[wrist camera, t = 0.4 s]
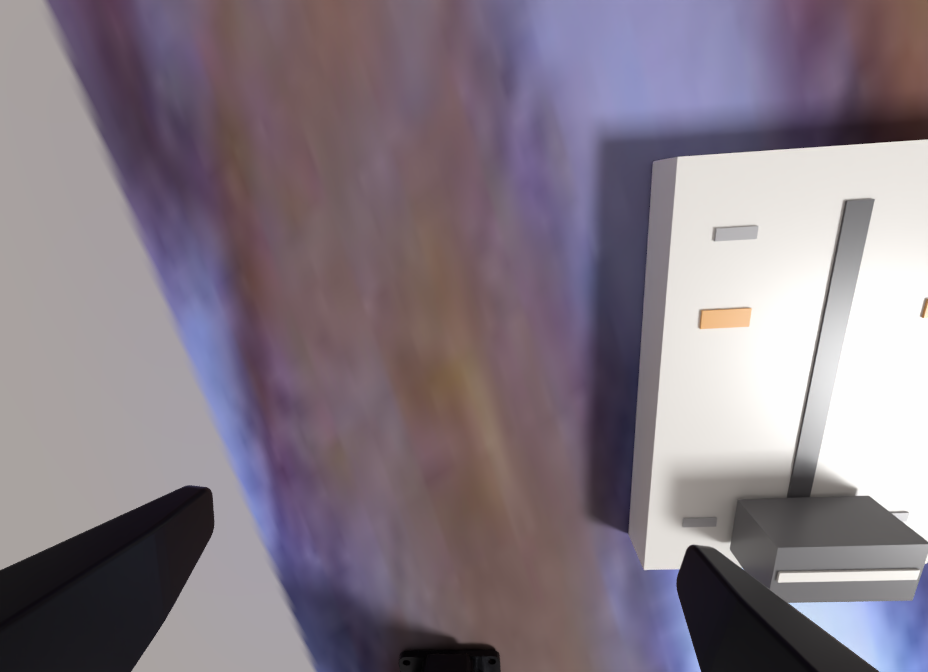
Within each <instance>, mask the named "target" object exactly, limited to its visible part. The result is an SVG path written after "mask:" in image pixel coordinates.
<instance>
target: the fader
mask: <svg viewBox="0 0 928 672" xmlns="http://www.w3.org/2000/svg"><path fill="white" fill-rule="evenodd" d="M730 551H731V552H732V554H733V555H734V556H735V558H736V559H737V561H738V562H739V564H740V565H741V566H742V568H743V569H744V570H745V571H746V572H747V573H749V574H750V575H751V576H753V577H754V578H755V579H757V580H758V581H759V582H761V583H762V584H763V585H765V586H766V587H767V588H769V589H770V590H771V591H773V592H774V593H775V594H777V595H778V596H779V597H781V598H782V599H783V600H785V601H786V602H787V603H797V602H855V601H912V600H913V597H914V594H915V591H916V588H917V585H918V582H919V579H920V576H921V573H922V570H923V567H924V564H925V561H926V558H927V555H928V541H926V540H925V539H924V538H923V537H921V536H920V535H919V534H917V533H916V532H915V531H914V530H912V529H911V528H910V527H908V526H907V525H906V524H905V523H903V522H902V521H901V520H900V519H898V518H897V517H896V516H894V515H893V514H892V513H891V512H889V511H888V510H887V509H885V508H884V507H883V506H882V505H880V504H879V503H878V502H876V501H875V500H874V499H873V498H871V497H870V496H835V497H801V498H766V499H737V506H736V512H735V518H734V525H733V531H732V537H731V544H730Z"/></svg>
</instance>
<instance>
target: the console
mask: <svg viewBox="0 0 928 672" xmlns="http://www.w3.org/2000/svg"><path fill="white" fill-rule="evenodd" d="M835 496H870V497H871V498H873V499H874V500H875V501H876V502H878V503H879V504H880V505H882V506H883V507H884V508H885V509H887V510H888V511H889V512H891V513H892V514H893V515H894V516H896V517H897V518H898V519H900V520H901V521H902V522H903V523H905V524H906V525H907V526H908V527H910V528H911V529H912V530H914V531H915V532H916V533H917V534H919V535H920V536H921V537H923V538H924V539H925V540H926V541H928V140H913V141H899V142H884V143H870V144H855V145H841V146H827V147H812V148H798V149H783V150H769V151H754V152H740V153H725V154H711V155H697V156H682V157H674V158H668V159H662V160H657V161H653V168H652V183H651V198H650V214H649V229H648V244H647V259H646V274H645V290H644V305H643V320H642V335H641V350H640V366H639V381H638V396H637V411H636V426H635V442H634V457H633V472H632V487H631V503H630V518H629V533H628V534H629V537H630V539H631V541H632V544H633V546H634V548H635V550H636V553H637V555H638V557H639V560H640V562H641V564H642V567H643V569H644V570H657V569H680V567H681V564H682V561H683V558H684V555H685V552H686V549H687V548H688V547H689V546H690V545H703V546H710V547H713V548H715V549H717V550H718V551H719V552H721V553H722V554H723V555H725V556H726V557H727V558H729V559H730V560H731V561H733V562H734V563H735V564H737V565H738V566H739V567H741V568H742V566H741V565H740V564H739V562H738V561H737V559H736V558H735V556H734V555H733V554H732V552H731V551H730V544H731V537H732V531H733V525H734V518H735V512H736V506H737V499H766V498H801V497H835ZM927 562H928V555H927V558H926V561H925V564H927Z"/></svg>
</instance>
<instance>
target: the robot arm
mask: <svg viewBox="0 0 928 672" xmlns="http://www.w3.org/2000/svg"><path fill="white" fill-rule="evenodd" d="M213 529H214V511H213V497H212V492H211V490H210V489H209V488H207V487H200V486H192V485H191V486H190V485H189V486H184V487H182V488H180V489H178V490H175V491H173V492H171V493H169V494H167V495H164V496H162V497H160V498H158V499H156V500H153V501H151V502H149V503H147V504H145V505H143V506H141V507H138V508H136V509H134V510H132V511H129V512H127V513H125V514H123V515H121V516H118V517H116V518H114V519H112V520H110V521H107V522H105V523H103V524H101V525H99V526H96V527H94V528H92V529H90V530H88V531H85V532H83V533H81V534H79V535H77V536H75V537H72V538H70V539H68V540H66V541H64V542H61V543H59V544H57V545H55V546H53V547H51V548H48V549H46V550H44V551H42V552H39V553H38V554H35V555H33V556H31V557H28V558H26V559H24V560H22V561H20V562H17V563H15V564H13V565H11V566H9V567H7V568H4V569H2V570H0V672H131V671H132V669H133V668H134V666H135V665H136V663H137V662H138V660H139V659H140V657H141V656H142V654H143V653H144V651H145V650H146V648H147V647H148V645H149V644H150V642H151V641H152V639H153V638H154V636H155V635H156V633H157V632H158V630H159V629H160V627H161V626H162V624H163V623H164V621H165V619H166V618H167V616H168V614H169V612H170V611H171V609H172V607H173V605H174V604H175V602H176V600H177V598H178V596H179V594H180V593H181V591H182V589H183V587H184V585H185V584H186V582H187V580H188V578H189V576H190V574H191V573H192V570H193V569H194V567H195V565H196V563H197V562H198V560H199V558H200V556H201V554H202V552H203V550H204V549H205V547H206V545H207V543H208V541H209V539H210V538H211V535H212V533H213ZM677 592H678V596H679V599H680V602H681V606H682V609H683V612H684V616H685V619H686V622H687V626H688V629H689V633H690V636H691V639H692V643H693V646H694V649H695V653H696V656H697V659H698V663H699V666H700V669H701V672H879V671H878V670H876V669H875V668H874V667H872V666H871V665H870V664H868V663H867V662H866V661H864V660H863V659H862V658H860V657H859V656H858V655H856V654H855V653H854V652H852V651H851V650H850V649H848V648H847V647H846V646H845V645H843V644H842V643H841V642H839V641H838V640H837V639H835V638H834V637H833V636H831V635H830V634H829V633H827V632H826V631H825V630H823V629H822V628H821V627H819V626H818V625H817V624H815V623H814V622H813V621H811V620H810V619H809V618H807V617H806V616H805V615H803V614H802V613H801V612H799V611H798V610H797V609H795V608H794V607H793V606H791V605H790V604H789V603H787V602H786V601H785V600H783V599H782V598H781V597H779V596H778V595H777V594H775V593H774V592H773V591H771V590H770V589H769V588H767V587H766V586H765V585H763V584H762V583H761V582H759V581H758V580H757V579H755V578H754V577H753V576H751V575H750V574H749V573H747V572H746V571H745V570H743V569H742V568H741V567H739V566H738V565H737V564H735V563H734V562H733V561H731V560H730V559H729V558H727V557H726V556H725V555H723V554H722V553H721V552H719V551H718V550H717V549H715V548H713V547H710V546H703V545H690V546H689V547H688V548H687V549H686V552H685V555H684V558H683V561H682V564H681V567H680V570H679V573H678V576H677ZM399 667H400V672H501V671H500V655H499V653H498V652H497V651H495V650H441V651H404V652H402V653H401V654H400V659H399Z"/></svg>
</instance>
